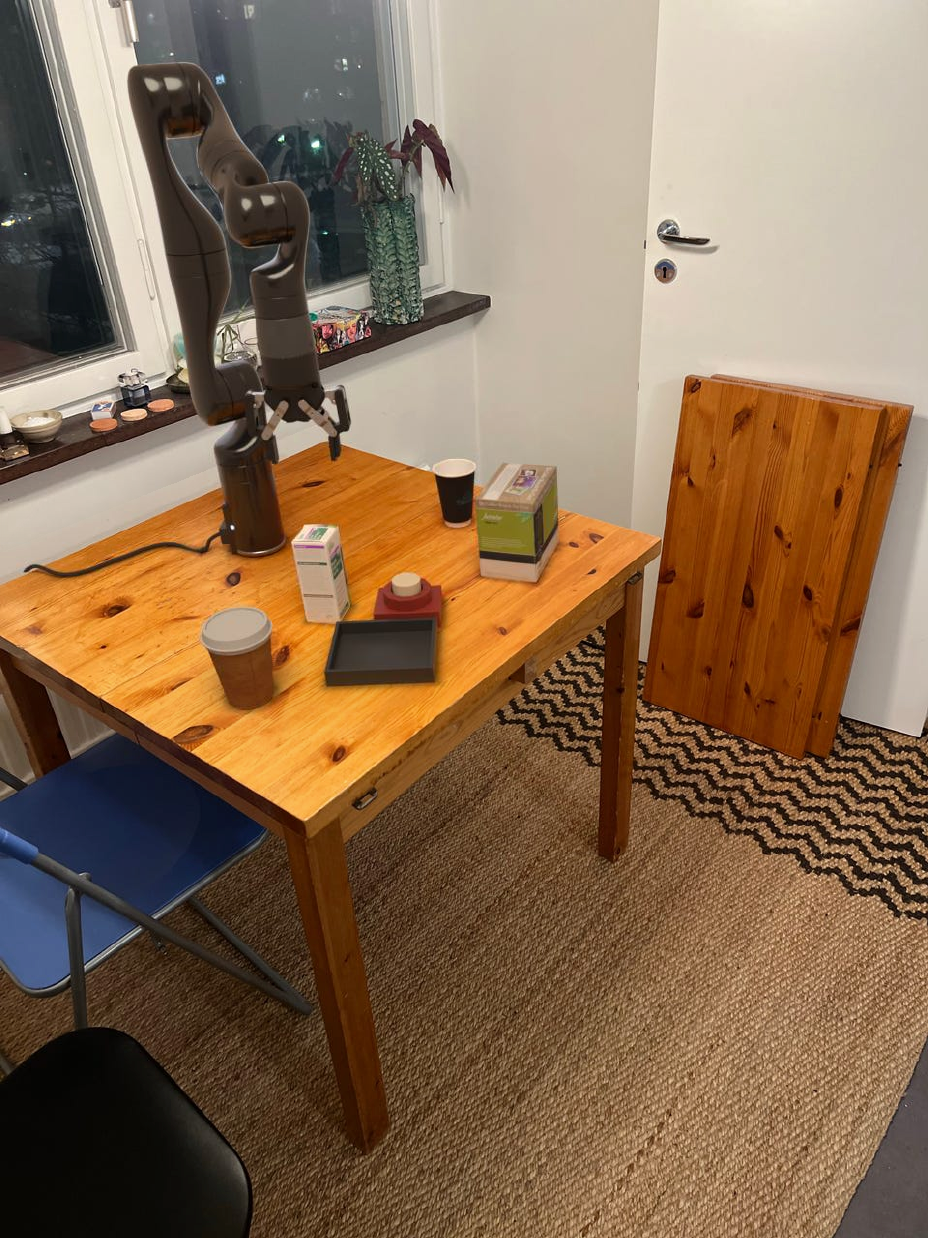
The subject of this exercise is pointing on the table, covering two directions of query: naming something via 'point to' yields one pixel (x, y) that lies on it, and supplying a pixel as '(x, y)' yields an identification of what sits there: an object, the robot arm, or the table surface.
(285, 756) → the table surface
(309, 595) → the syrup box
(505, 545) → the tea box
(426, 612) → the red square pod holder
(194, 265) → the robot arm
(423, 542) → the table surface
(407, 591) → the button
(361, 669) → the tray
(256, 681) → the disposable coffee cup
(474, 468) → the dixie cup
